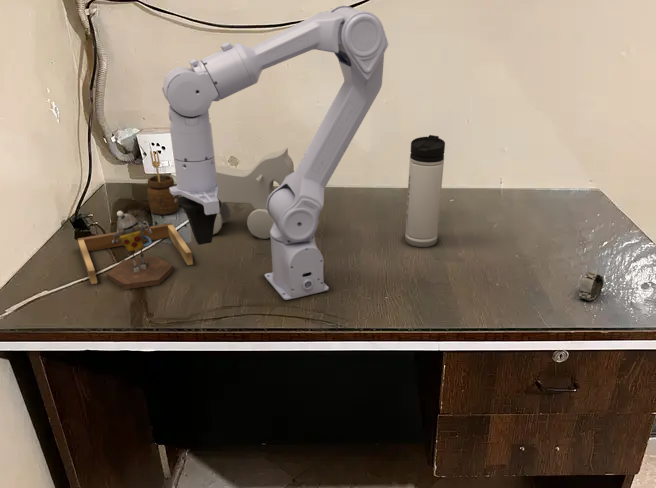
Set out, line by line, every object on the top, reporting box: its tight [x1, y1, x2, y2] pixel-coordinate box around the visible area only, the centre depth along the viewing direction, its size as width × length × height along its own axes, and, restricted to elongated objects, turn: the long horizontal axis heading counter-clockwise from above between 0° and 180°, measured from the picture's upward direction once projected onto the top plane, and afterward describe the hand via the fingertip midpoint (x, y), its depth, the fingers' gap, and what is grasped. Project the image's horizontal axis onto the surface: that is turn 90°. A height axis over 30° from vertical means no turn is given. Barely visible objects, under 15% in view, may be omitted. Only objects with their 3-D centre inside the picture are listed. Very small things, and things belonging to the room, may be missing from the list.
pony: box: [213, 147, 295, 240], centre depth 120 cm, size 20×10×17 cm, turn 84°
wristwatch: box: [578, 270, 604, 302], centre depth 103 cm, size 3×5×5 cm
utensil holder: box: [147, 150, 180, 216], centre depth 129 cm, size 6×6×12 cm
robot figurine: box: [106, 210, 175, 290], centre depth 104 cm, size 11×9×12 cm
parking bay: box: [76, 222, 194, 285], centre depth 112 cm, size 14×17×2 cm
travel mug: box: [404, 134, 446, 248], centre depth 117 cm, size 6×7×20 cm
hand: (204, 242), depth 97 cm, fingers closed
